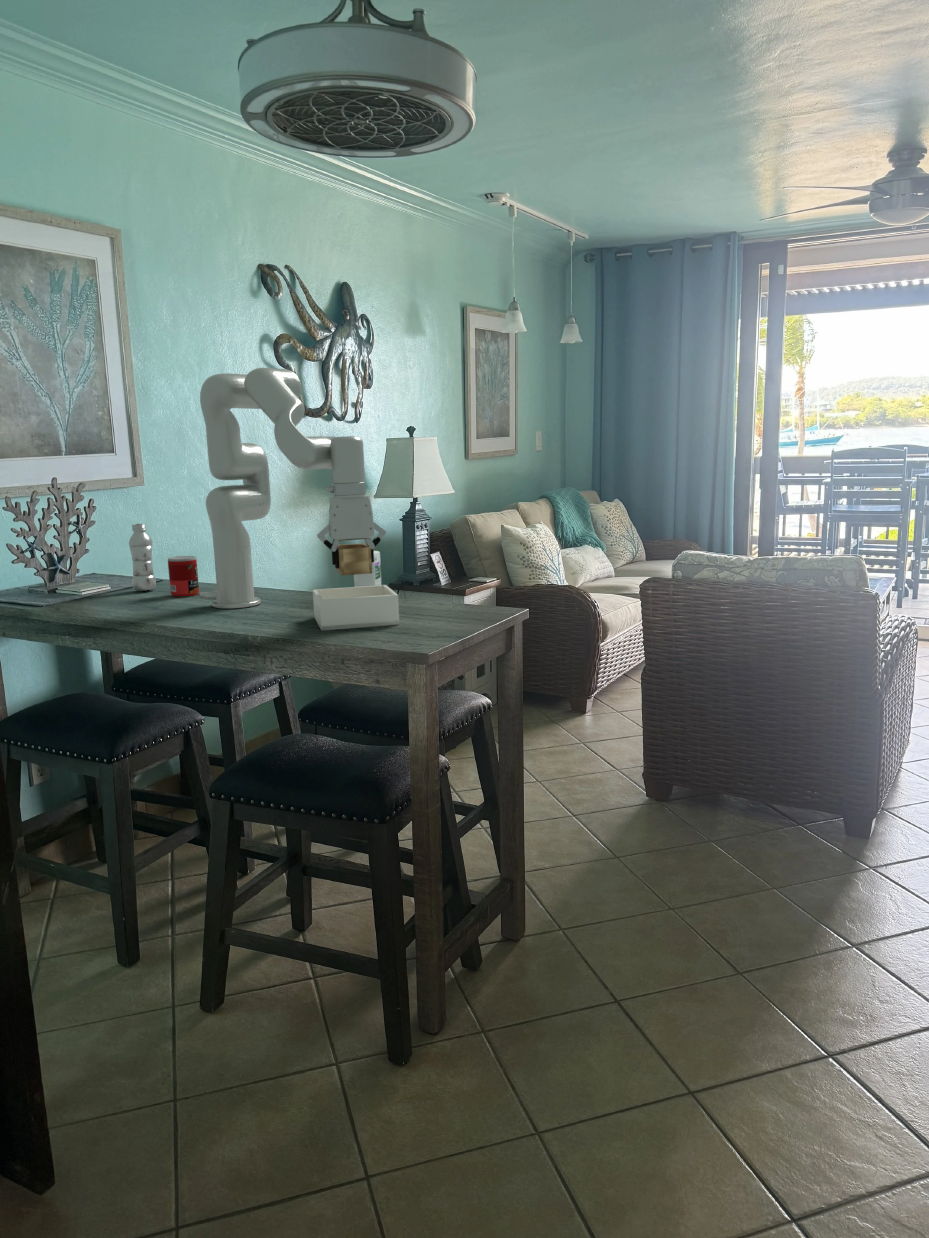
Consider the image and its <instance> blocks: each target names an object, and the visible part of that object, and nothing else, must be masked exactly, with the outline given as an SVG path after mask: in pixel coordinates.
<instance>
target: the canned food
mask: <svg viewBox="0 0 929 1238" xmlns="http://www.w3.org/2000/svg"><path fill="white" fill-rule="evenodd" d="M167 566H168V567H167V568H168V577H169V589H170V594H171V596H172V595H173V596H192V597H195V596H194V595H197V594H198V595H200V585H199V583H200V582H199V573H198V562H197V556H195V555H180V556H172V557H168V558H167ZM198 595H197V596H198ZM173 596H172V597H173Z"/></svg>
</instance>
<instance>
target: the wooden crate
mask: <svg viewBox="0 0 929 1238" xmlns="http://www.w3.org/2000/svg"><path fill="white" fill-rule="evenodd" d="M337 550H338V552H339V569H336V571H337V572H338V573H339V574H340V575H341V576H352V575H353V576H354V575H357V574H371V573H372V563H371V548H370V547H369V546H368V545H367V544H366V543H352V544H339V545H338V547H337Z"/></svg>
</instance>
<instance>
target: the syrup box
mask: <svg viewBox="0 0 929 1238" xmlns="http://www.w3.org/2000/svg"><path fill="white" fill-rule="evenodd" d="M381 563H382V562H381V552H380V551H379V550H374V562H372V573H371V574H357V575H353V585H354V586H353V587H362V586H377V585H383V579H382V578H383V577H382V564H381Z"/></svg>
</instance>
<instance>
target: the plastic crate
mask: <svg viewBox="0 0 929 1238" xmlns="http://www.w3.org/2000/svg"><path fill="white" fill-rule="evenodd" d="M312 601H313V615H314V616H313V617H314V620H315V621H316V624H317V625H318V626H319V628H320V630H321V631H332V630H333V631H334V630H336V631H337V630H347V629H349V630H350V629H358V628H372V627H373V628H374V627H388V626H397V625H398V626H399V625H400V612H399V611H400V610H399V608H400V605H399V594H397V593H396V592H395V591H394V590H393V589H392V588H390V586H388V585H387V584H382V585H377V586H362V587H355V586H350V587H348V586H347V587H337V588H335V587H334V588H333V587H331V588H320V589H312Z"/></svg>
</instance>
